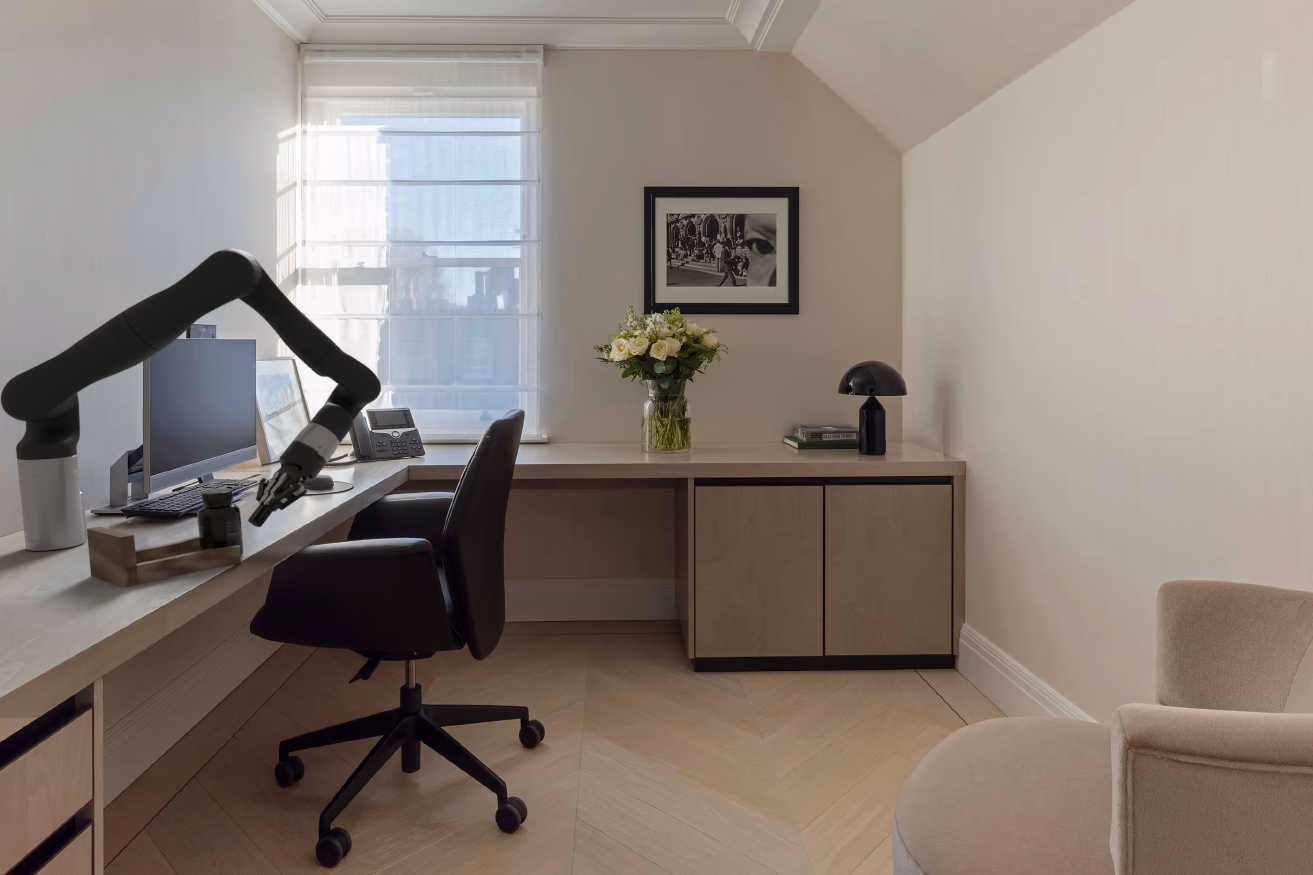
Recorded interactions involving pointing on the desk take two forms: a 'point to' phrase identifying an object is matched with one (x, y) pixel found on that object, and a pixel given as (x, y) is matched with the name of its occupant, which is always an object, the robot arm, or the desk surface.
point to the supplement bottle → (219, 521)
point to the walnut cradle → (150, 558)
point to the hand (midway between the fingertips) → (253, 524)
